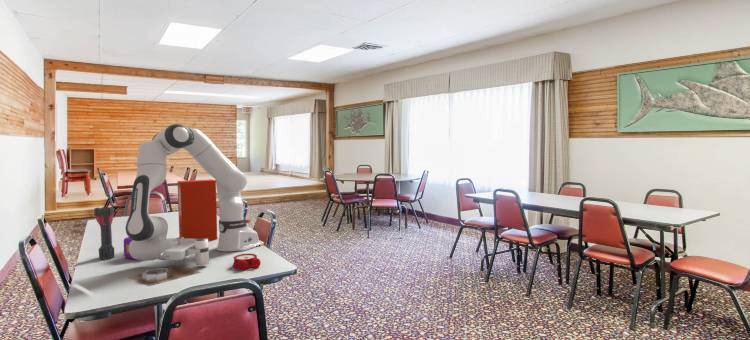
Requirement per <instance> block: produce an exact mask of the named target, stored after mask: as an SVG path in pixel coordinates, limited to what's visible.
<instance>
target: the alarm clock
mask: <svg viewBox="0 0 750 340" xmlns="http://www.w3.org/2000/svg"><path fill="white" fill-rule="evenodd" d="M257 256H258V255H257V254H255V253H240V254H237V255H234V256H233V257H232V258H233V263H232V268H234V269H236V270H239V271H245V270H246V269H247V270H248V269H257V268H260V266H261V260H260V258H258V257H257Z"/></svg>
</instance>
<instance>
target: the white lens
mask: <svg viewBox="0 0 750 340" xmlns="http://www.w3.org/2000/svg"><path fill="white" fill-rule="evenodd" d="M195 249H201V253H200V254H194V255H195V265H196V266H205V265H209V264H210V255H209V253H210V250H209V241H208V239H207V238H200V239H196V240H195Z"/></svg>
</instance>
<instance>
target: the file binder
mask: <svg viewBox="0 0 750 340" xmlns="http://www.w3.org/2000/svg"><path fill="white" fill-rule="evenodd" d="M177 202H178V203H177V206H178V207H177V208H178V209H177V210H178V231H179V232H178V233H179V235H178V236H179V237H184V239H186V238H192V239H200V238H207V239H208V242H209V240H210V241H216V240H215V239H217V240H218V217H217V216H218V214H217V212H218V211H217V186H216V180H215V179H214V178H213V179H212V178H209V179H208V178H207V179H193V180H177Z"/></svg>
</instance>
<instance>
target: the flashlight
mask: <svg viewBox="0 0 750 340" xmlns="http://www.w3.org/2000/svg"><path fill="white" fill-rule="evenodd" d="M114 215H115V210H114V206H109V207H108V206H103V207H95V208H94V210H93V216H94V217H95V218H94V219H95V220H96V222H97V224H98V225H99V227H100V243H101V244H100V247H99V248H98V257H99V259H100V260H104V259H105V260H110V259H112V258H114V257H115V247H114V246H113V236H112V233H113V232H112V224H113V221H114Z"/></svg>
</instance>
